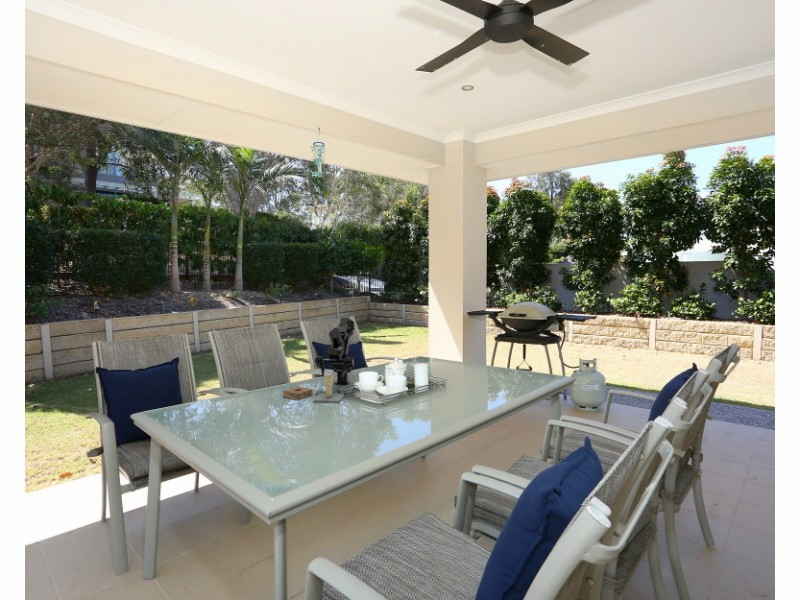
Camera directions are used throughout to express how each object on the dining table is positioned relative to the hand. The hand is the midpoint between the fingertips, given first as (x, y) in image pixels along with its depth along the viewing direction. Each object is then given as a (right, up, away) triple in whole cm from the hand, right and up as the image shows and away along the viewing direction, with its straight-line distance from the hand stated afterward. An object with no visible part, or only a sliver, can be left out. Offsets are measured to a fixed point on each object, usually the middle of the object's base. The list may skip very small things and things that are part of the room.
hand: (332, 376), depth 224 cm
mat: (0, -10, -5) cm, 11 cm away
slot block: (-16, -9, -1) cm, 19 cm away
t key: (0, -9, -5) cm, 10 cm away
